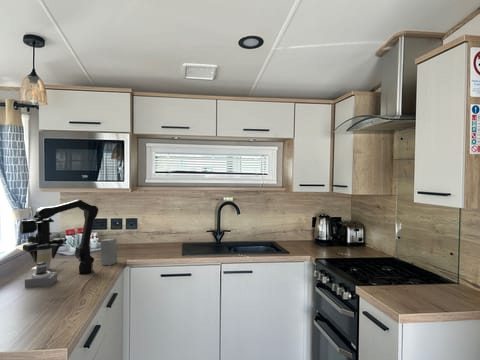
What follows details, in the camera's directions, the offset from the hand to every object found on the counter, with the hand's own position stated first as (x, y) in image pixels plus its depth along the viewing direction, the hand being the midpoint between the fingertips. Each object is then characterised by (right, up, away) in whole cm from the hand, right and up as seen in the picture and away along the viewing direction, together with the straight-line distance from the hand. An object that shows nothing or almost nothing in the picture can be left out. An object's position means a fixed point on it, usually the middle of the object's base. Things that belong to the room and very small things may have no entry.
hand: (44, 260), depth 169 cm
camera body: (0, -12, -2) cm, 12 cm away
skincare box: (+20, -11, +35) cm, 42 cm away
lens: (0, -8, -2) cm, 8 cm away
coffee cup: (-14, -12, +23) cm, 30 cm away
